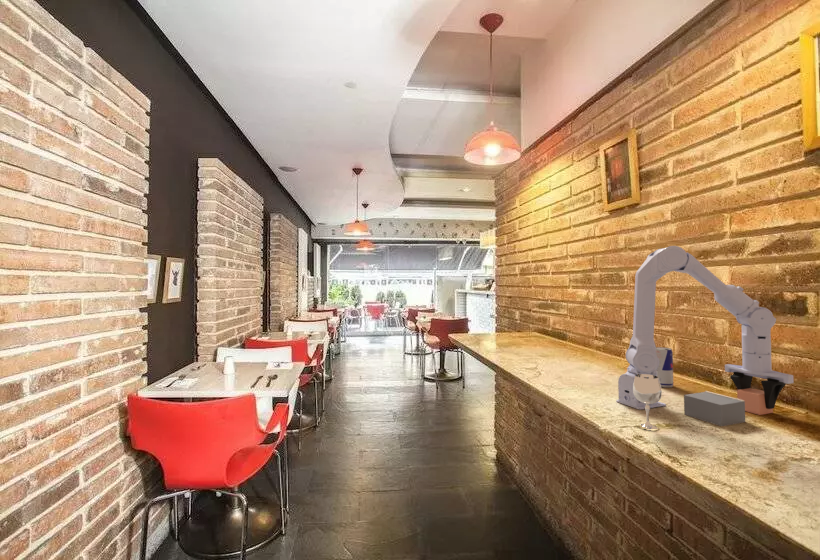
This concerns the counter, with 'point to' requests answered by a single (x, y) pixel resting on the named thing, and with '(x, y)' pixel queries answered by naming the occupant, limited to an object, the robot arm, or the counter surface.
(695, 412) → the block
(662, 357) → the energy drink
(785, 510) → the counter surface
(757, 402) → the salmon pink cube
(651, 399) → the wineglass
